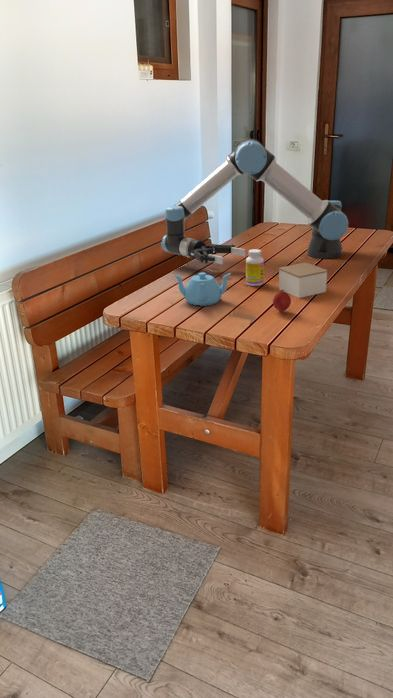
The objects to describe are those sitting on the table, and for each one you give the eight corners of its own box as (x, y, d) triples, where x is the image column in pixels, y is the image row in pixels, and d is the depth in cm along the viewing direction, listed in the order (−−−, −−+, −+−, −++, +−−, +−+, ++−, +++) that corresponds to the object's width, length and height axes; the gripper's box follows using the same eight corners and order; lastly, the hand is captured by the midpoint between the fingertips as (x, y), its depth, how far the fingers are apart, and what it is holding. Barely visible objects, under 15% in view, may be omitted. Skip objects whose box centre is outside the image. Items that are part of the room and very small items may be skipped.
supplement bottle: (262, 287, 214) (262, 253, 208) (244, 286, 215) (244, 252, 210) (264, 281, 220) (264, 248, 214) (247, 281, 221) (247, 248, 216)
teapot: (204, 291, 211) (203, 264, 207) (233, 300, 201) (233, 272, 197) (174, 302, 202) (172, 273, 198) (203, 311, 192) (202, 282, 188)
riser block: (305, 283, 216) (306, 262, 213) (326, 291, 206) (327, 270, 202) (278, 288, 211) (278, 267, 208) (298, 298, 201) (299, 276, 197)
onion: (271, 309, 192) (271, 286, 188) (288, 308, 192) (288, 285, 189) (274, 315, 186) (275, 292, 183) (292, 314, 187) (293, 291, 183)
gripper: (213, 251, 243) (253, 259, 230) (172, 264, 227) (212, 273, 214) (213, 233, 240) (253, 240, 227) (171, 245, 224) (212, 254, 210)
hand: (233, 256), depth 220 cm, fingers open, 13 cm apart
